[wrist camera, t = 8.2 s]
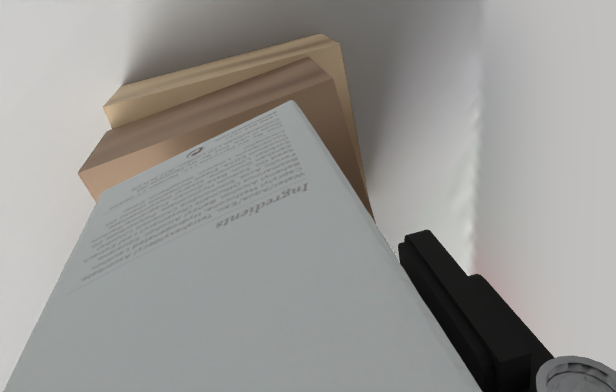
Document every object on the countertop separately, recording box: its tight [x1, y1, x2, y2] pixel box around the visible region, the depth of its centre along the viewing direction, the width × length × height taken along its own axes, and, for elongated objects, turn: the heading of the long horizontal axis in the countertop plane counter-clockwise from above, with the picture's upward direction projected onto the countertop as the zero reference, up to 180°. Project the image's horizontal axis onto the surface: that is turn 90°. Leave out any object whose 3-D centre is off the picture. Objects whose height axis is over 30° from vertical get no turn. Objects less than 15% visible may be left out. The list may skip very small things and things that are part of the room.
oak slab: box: [103, 33, 368, 196], centre depth 21 cm, size 9×9×4 cm
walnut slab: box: [78, 57, 376, 224], centre depth 17 cm, size 8×8×4 cm
